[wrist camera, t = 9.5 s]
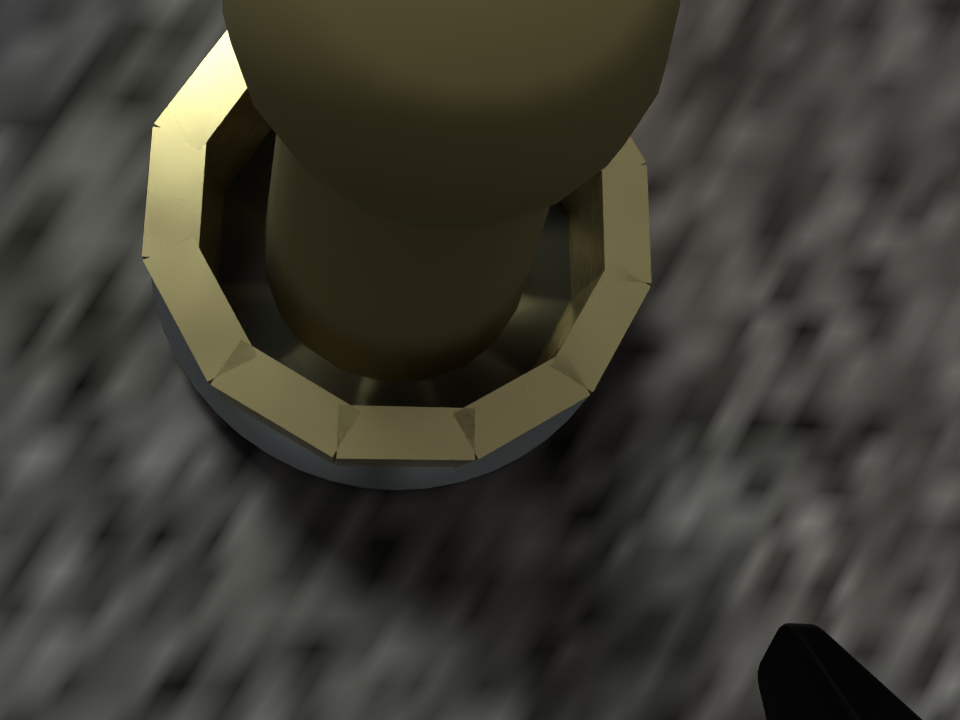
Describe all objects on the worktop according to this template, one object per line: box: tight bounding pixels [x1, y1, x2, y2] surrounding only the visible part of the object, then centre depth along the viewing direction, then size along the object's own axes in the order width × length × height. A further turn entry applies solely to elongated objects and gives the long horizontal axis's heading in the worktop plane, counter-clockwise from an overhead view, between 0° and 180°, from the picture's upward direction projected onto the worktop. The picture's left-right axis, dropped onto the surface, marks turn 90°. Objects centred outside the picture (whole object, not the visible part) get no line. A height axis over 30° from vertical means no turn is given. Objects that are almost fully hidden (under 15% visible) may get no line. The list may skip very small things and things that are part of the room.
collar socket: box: [142, 31, 652, 491], centre depth 18 cm, size 11×11×3 cm
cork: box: [223, 0, 680, 382], centre depth 13 cm, size 6×6×11 cm
